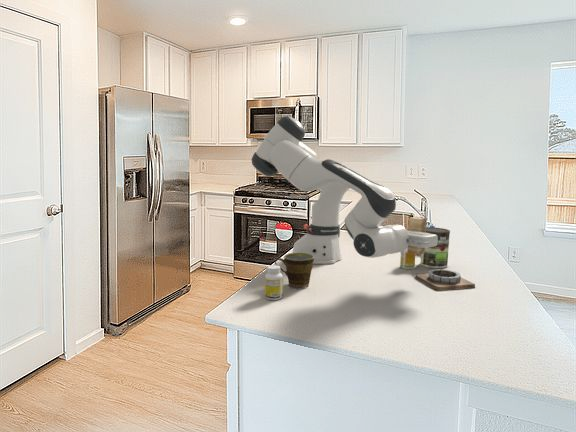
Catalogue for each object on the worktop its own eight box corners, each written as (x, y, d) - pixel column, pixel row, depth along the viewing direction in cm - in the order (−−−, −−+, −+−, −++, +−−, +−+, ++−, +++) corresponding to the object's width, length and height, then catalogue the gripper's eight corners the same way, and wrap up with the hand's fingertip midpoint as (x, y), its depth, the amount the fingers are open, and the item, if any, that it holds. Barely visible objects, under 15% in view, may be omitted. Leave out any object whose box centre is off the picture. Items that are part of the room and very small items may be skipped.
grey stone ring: (439, 284, 145) (439, 278, 144) (422, 275, 154) (423, 270, 154) (466, 282, 147) (466, 276, 147) (448, 274, 157) (449, 268, 156)
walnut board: (437, 290, 143) (437, 287, 142) (415, 277, 156) (415, 274, 156) (474, 287, 146) (475, 284, 146) (450, 275, 159) (450, 272, 159)
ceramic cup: (312, 280, 152) (312, 252, 150) (315, 290, 142) (315, 260, 141) (274, 280, 152) (274, 252, 150) (274, 290, 142) (274, 260, 140)
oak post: (417, 254, 146) (420, 219, 144) (407, 252, 149) (409, 217, 147) (424, 253, 148) (426, 218, 147) (414, 251, 151) (416, 216, 150)
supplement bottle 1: (273, 293, 139) (273, 263, 137) (286, 297, 136) (286, 266, 134) (261, 298, 135) (261, 267, 133) (274, 302, 132) (274, 270, 130)
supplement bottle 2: (417, 267, 169) (418, 242, 168) (409, 270, 166) (411, 245, 164) (404, 264, 173) (406, 240, 172) (397, 267, 170) (398, 242, 168)
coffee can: (453, 267, 170) (455, 231, 167) (429, 269, 167) (432, 232, 165) (437, 260, 179) (439, 226, 177) (415, 262, 177) (417, 227, 174)
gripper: (424, 233, 131) (448, 229, 140) (369, 224, 146) (393, 220, 155) (423, 254, 132) (446, 248, 141) (368, 243, 147) (393, 238, 156)
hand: (418, 233), depth 148 cm, fingers closed on oak post, 4 cm apart
